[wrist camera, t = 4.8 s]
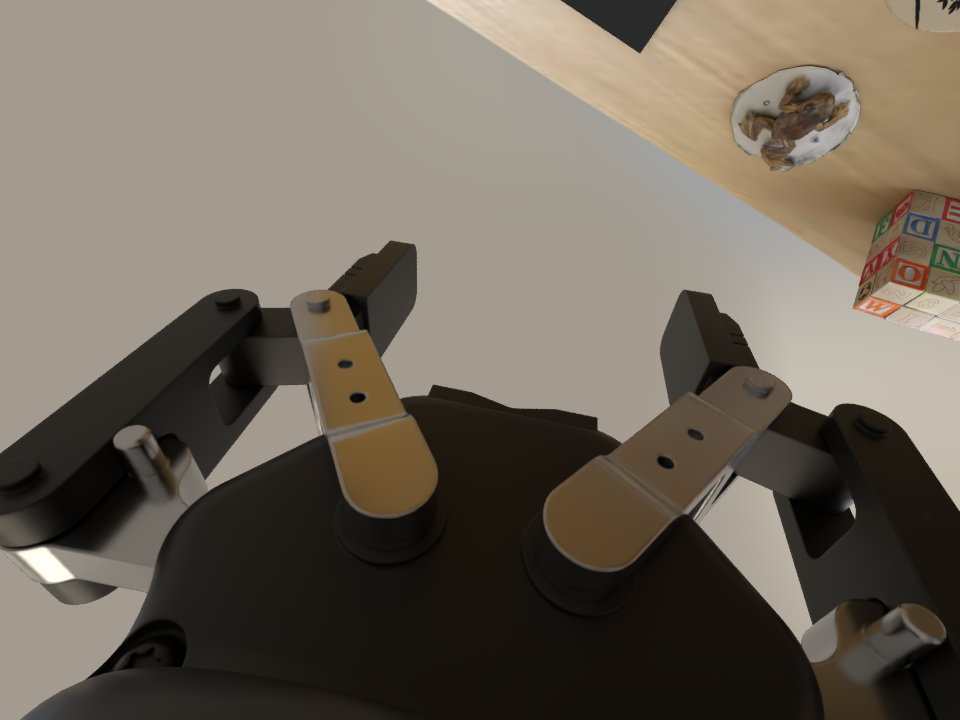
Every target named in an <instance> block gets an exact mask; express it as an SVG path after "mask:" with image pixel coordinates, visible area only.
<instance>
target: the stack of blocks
mask: <svg viewBox="0 0 960 720" xmlns="http://www.w3.org/2000/svg"><path fill="white" fill-rule="evenodd" d="M871 244H872V245H871V248H870V251H869V254H868V257H867V261H866V264H865V267H864V269H863V272H862V276H861V280H860V283H859V289H858V292H857V296H856V299H855V302H854V305H853V309H855V310H859V311H862V312H865V313H869V314H872V315H875V316H878V317H881V318H884V320H887V321H890V322H894V323H897V324H900V325H903V326H907V327H910V328H917V329H918V330H922V331H925V332H929V333H932V334H936V335H939V336H943V337H949V338H951V339H954V340H957V341H960V201H959V200H955V199H951V198H945V197H943V196H939V195H935V194H931V193H926V192H922V191H918V190H914V191H912V192H911V193H910V194H909V195H908V196H907V197H906V198H905V199H904V200H903V201H902V202H900V203H899V204H898V205H897V206H896V207H895V209H894V210H892V211H891V212H890V213H889V214H888V215H887V216H886V217H885V218H884V219H883V220H881V221H880V222H879V223H878V224H877V226H876V229H875V233H874V236H873V240H872V243H871Z"/></svg>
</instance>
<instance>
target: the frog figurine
mask: <svg viewBox="0 0 960 720" xmlns="http://www.w3.org/2000/svg"><path fill="white" fill-rule="evenodd" d="M853 84H854V83H853V82H852V81H851V80H849V79H848V78H846V77H845V74H844V73H843V72H840V73H839V74H836V73H835V72H833V71H831V70H830V69H826V68H820V67H815V66H805V67H795V68H790V69H786V70H779V71H778V72H776V73H774V74H772V75H771V76H769V77H768V78H766V79H764V80H761V81H759V82H756V83H755V84H754V85H752V86H750V87H749V88H747V89H746V90H744V91H742V92H740V93H739V96H738V97H737V99H736V100H735V102H734V104H733V111H732V114H731V124H732V127H733V133H734V137H735V139H736V142H737V143H738V146H739V147H740V148H741V149H742V150H743V151H744V152H745V153H747V154H748V155H751V154H752V153H753V154H755V155H756V156H759V157H762V159H763V160H764V161H765V162H766V163H767V164H768V165H769V166H770V171H776V170H781V171H788V170H789V169H792V168H793V167H795V166H800V165H803V164H806V163H811V162H815V161H816V159H818V158H819V157H821V156H824V155H826V154H827V153H830V152H832V151H833V150H835V149H837V148H838V147H839V146H840V145H841V144H843V143H844V142H845V141H846V139H847V137H849V136H850V135H851V133H852V132H853V130H854V128H855V126H856V124H857V120H858V119H859V114H860V113H859V111H860V104H859V103H858V101H857V98H856V95H855V94H858V95H859V93H858V92H857V90H856V89H855V88H853ZM853 89H855V90H856V91H855V92H854V91H853Z"/></svg>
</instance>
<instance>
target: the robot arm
mask: <svg viewBox="0 0 960 720" xmlns="http://www.w3.org/2000/svg"><path fill="white" fill-rule="evenodd" d="M416 253H417V252H416V247H415V245H414V244H408V243H402V242H396V241H389V242H388V243H387V244H386V246H385V247H384V248H383V249H382V250H381V251H380V252H379V253H378V254H375V253H372V254H369V255H367V256H365V257H362V258H360V259H359V260H358V261H357V262H356V263H355V264H354V265H353V266H352V267H351V268H350V269H348V270H347V271H346V272H345V275H342V276H341V277H340V278H339V279H338V280H337V281H336V282H335V283H334V284H333V285H332V286H331V287H330V288H329V289H328V290H314V291H308V292H305V293H302V294H300V295H298V296H297V297H295V298H294V299H293V300H292V301H291V303H290V308H261V307H260V304H259V300H258V296H257V295H256V294H255V293H253V292H251V291H248V290H244V289H228V290H222V291H218V292H214V293H212V294H209V295H207V296H206V297H204V298H202V299H201V300H200V301H198V302H197V303H196V304H195V305H193V306H192V307H191V308H190V309H188V310H187V311H185V312H184V313H183V314H182V315H180V316H179V317H178V318H177V319H175V320H174V321H172V322H171V323H170V324H169V325H167V326H166V327H165V328H163V329H162V330H161V331H160V332H158V333H157V334H155V335H154V336H153V337H152V338H150V339H149V340H148V341H146V342H145V343H144V344H142V345H141V346H140V347H139V348H137V349H136V350H135V351H133V352H132V353H131V354H130V355H128V356H127V357H126V358H124V359H123V360H122V361H120V362H119V363H118V364H116V365H115V366H114V367H113V368H111V369H110V370H109V371H107V372H106V373H105V374H103V375H102V376H101V377H99V378H98V379H97V380H96V381H94V382H93V383H92V384H90V385H89V386H88V387H87V388H85V389H84V390H83V391H81V392H80V393H79V394H78V395H76V396H75V397H74V398H72V399H71V400H70V401H68V402H67V403H66V404H64V405H63V406H62V407H60V408H59V409H58V410H57V411H55V412H54V413H53V414H51V415H50V416H49V417H48V418H46V419H45V420H43V421H42V422H41V423H40V424H38V425H37V426H36V427H34V428H33V429H32V430H31V431H29V432H28V433H27V434H25V435H24V436H23V437H21V438H20V439H19V440H17V441H16V442H15V443H13V444H12V445H11V446H10V447H8V448H7V449H6V450H4V451H3V452H2V453H0V551H1V552H2V553H3V554H4V555H5V556H6V557H7V558H8V559H9V560H11V561H12V562H13V563H14V564H15V565H16V566H17V567H18V568H19V569H20V570H21V571H23V572H24V573H25V574H26V575H27V576H28V577H29V578H31V580H33V581H35V582H38V583H40V584H41V585H42V586H43V587H45V588H46V589H47V590H48V591H49V592H50V593H51V594H52V595H53V596H54V597H55V598H56V599H58V600H59V601H60V602H62V603H65V604H69V605H79V604H85V603H89V602H92V601H95V600H98V599H100V598H102V597H104V596H106V595H108V594H109V593H111V592H112V591H114V590H115V589H117V588H118V587H121V588H127V589H131V590H136V591H141V592H146V593H147V596H146V599H145V601H144V603H143V606H142V608H141V610H140V613H139V615H138V617H137V619H136V621H135V623H134V624H133V626H132V628H131V630H130V632H129V634H128V635H127V637H126V638H125V640H124V641H123V642H122V644H121V645H120V646H119V647H118V649H117V650H116V651H115V652H114V653H113V654H112V655H111V657H110V658H109V659H108V660H107V661H106V662H105V663H104V664H103V665H102V666H101V667H100V668H98V669H97V670H96V671H95V672H94V673H93V674H92V675H90V676H89V677H88V678H87V679H86V680H84V681H82V682H80V683H77V684H75V685H73V686H71V687H69V688H67V689H65V690H62V691H61V692H59V693H57V694H56V695H54V696H52V697H50V698H49V699H47V700H45V701H44V702H42V703H41V704H40V705H38V706H37V707H36V708H34V709H33V710H32V711H30V712H29V713H28V714H27V715H25V716H24V717H23V718H22V719H21V720H960V511H959V510H958V508H957V507H956V505H955V504H954V502H953V501H952V499H951V498H950V496H949V495H948V494H947V492H946V491H945V489H944V488H943V486H942V485H941V483H940V482H939V480H938V479H937V478H936V476H935V474H934V473H933V471H932V470H931V469H930V467H929V466H928V464H927V463H926V462H925V460H924V458H923V457H922V455H921V454H920V452H919V451H918V450H917V448H916V447H915V445H914V444H913V442H912V441H911V439H910V438H909V436H908V435H907V433H906V432H905V431H904V430H903V429H902V428H901V427H900V426H899V425H898V424H897V423H896V422H894V421H893V420H891V419H890V418H888V417H887V416H885V415H883V414H881V413H879V412H877V411H875V410H873V409H870V408H867V407H865V406H861V405H856V404H848V403H847V404H840V405H838V406H836V407H835V408H834V410H833V411H832V412H831V414H830V415H829V416H826V415H823V414H820V413H818V412H815V411H812V410H809V409H807V408H804V407H801V406H799V405H796V404H794V403H792V402H790V401H791V400H792V393H791V390H790V389H789V388H788V386H787V385H786V384H785V383H784V382H783V381H781V380H780V379H779V378H777V377H776V376H774V375H772V374H770V373H768V372H766V371H763V370H761V369H759V367H758V365H757V362H756V361H755V358H754V356H753V354H752V352H751V350H750V348H749V347H748V344H747V342H746V339H745V338H743V336H744V335H743V333H742V331H741V329H740V327H739V325H738V324H737V323H736V322H735V321H734V320H733V319H732V318H730V317H729V316H728V315H727V314H724V313H720V312H719V310H718V308H717V305H716V303H715V301H714V298H713V296H712V295H711V294H707V293H701V292H695V291H689V290H683V291H682V292H681V293H680V295H679V297H678V300H677V302H676V304H675V307H674V310H673V312H672V314H671V317H670V319H669V322H668V324H667V327H666V329H665V332H664V335H663V337H662V341H661V346H660V357H661V362H662V367H663V373H664V377H665V383H666V388H667V393H668V399H669V403H670V407H668V408H667V409H666V410H665V411H663V412H662V413H661V414H659V415H658V416H657V417H656V418H654V419H653V420H652V421H651V422H649V423H648V424H647V425H646V426H644V427H643V428H642V429H641V430H639V431H638V432H637V433H635V434H634V435H633V436H632V437H630V438H629V439H628V440H627V441H625V442H624V443H623V444H622V443H621V442H619V441H617V440H616V439H614V438H613V437H611V436H609V435H607V434H605V433H603V432H600V431H598V430H597V418H596V417H591V416H585V415H581V414H576V413H571V412H566V411H561V410H556V409H515V408H510V407H507V406H504V405H502V404H499V403H497V402H495V401H492V400H489V399H487V398H485V397H482V396H480V395H477V394H475V393H472V392H467V391H462V390H458V389H453V388H448V387H442V386H438V385H433V386H432V388H431V390H430V392H429V395H428V396H412V397H406V398H402V399H400V398H399V396H398V394H397V392H396V390H395V388H394V385H393V383H392V381H391V379H390V377H389V375H388V373H387V371H386V369H385V366H384V364H383V362H382V360H381V357H382V355H383V354H384V352H385V351H386V349H387V348H388V346H389V344H390V343H391V341H392V340H393V338H394V337H395V335H396V334H397V332H398V331H399V329H400V327H401V326H402V324H403V323H404V321H405V320H406V318H407V317H408V315H409V314H410V312H411V311H412V309H413V307H414V304H415V301H416V294H417V254H416ZM218 364H219V366H220V369H221V371H222V372H221V373H220V374H219V375H218V376H217V378H216V379H215V380H214V381H213V382H212V383H211V384H210V385H209V380H210V376H211V373H212V371H213V369H214V368H215V367H216V366H217V365H218ZM304 384H306V385H307V390H308V393H309V397H310V402H311V405H312V409H313V413H314V417H315V421H316V425H317V429H318V433H319V436H318V437H316V438H314V439H312V440H310V441H308V442H306V443H304V444H302V445H300V446H298V447H296V448H294V449H292V450H290V451H287V452H285V453H283V454H281V455H279V456H277V457H275V458H273V459H271V460H269V461H267V462H265V463H263V464H261V465H259V466H257V467H255V468H253V469H251V470H249V471H247V472H245V473H243V474H240V475H238V476H236V477H234V478H232V479H230V480H228V481H226V482H224V483H222V484H220V485H219V486H217V487H215V488H213V489H211V490H210V491H208V492H207V484H206V481H205V480H206V478H207V477H208V476H209V475H210V473H211V472H212V471H213V469H214V468H215V467H216V466H217V464H218V463H219V462H220V460H221V459H222V458H223V456H224V455H225V454H226V453H227V451H228V450H229V449H230V448H231V446H232V445H233V444H234V442H235V441H236V440H237V439H238V437H239V436H240V435H241V434H242V432H243V431H244V429H245V428H246V427H247V426H248V425H249V423H250V422H251V421H252V419H253V418H254V417H255V415H256V414H257V413H258V412H259V410H260V409H261V408H262V407H263V405H264V404H265V403H266V401H267V400H268V399H269V398H270V396H271V395H272V394H273V393H274V391H275V390H276V389H277V387H278V385H304ZM739 476H741V477H744V478H746V479H748V480H750V481H753V482H755V483H757V484H759V485H761V486H764V487H766V488H768V489H771V490H773V496H774V499H775V502H776V505H777V509H778V512H779V515H780V518H781V522H782V525H783V529H784V532H785V535H786V539H787V542H788V545H789V548H790V552H791V555H792V558H793V561H794V565H795V568H796V571H797V575H798V578H799V581H800V584H801V588H802V591H803V595H804V598H805V601H806V604H807V608H808V611H809V614H810V618H811V621H812V624H813V626H812V627H810V628H809V629H808V630H806V632H805V633H804V634H803V637H802V640H801V644H800V643H799V641H798V640H797V638H796V637H795V635H794V634H793V633H792V631H791V630H790V629H789V627H788V626H787V625H786V623H785V622H784V621H783V620H782V619H781V617H780V616H779V615H778V614H777V613H776V612H775V611H774V610H773V608H772V607H771V606H770V605H769V604H768V603H767V602H766V600H765V599H764V598H763V597H762V596H761V595H760V594H759V593H758V592H757V590H756V589H755V588H754V587H753V586H752V585H751V584H750V583H749V581H748V580H747V579H746V578H745V577H744V576H743V575H742V573H741V572H740V571H739V570H738V569H737V568H736V567H735V566H734V565H733V563H732V562H731V561H730V560H729V559H728V558H727V557H726V555H725V554H724V553H723V552H722V551H721V550H720V549H719V548H718V546H717V545H716V544H715V543H714V542H713V541H712V540H711V539H710V538H709V536H708V535H707V534H706V533H705V532H704V531H703V530H702V528H701V527H700V526H699V525H698V524H699V523H700V521H701V520H702V519H703V518H704V516H705V515H706V514H707V513H708V512H709V511H710V509H711V508H712V507H713V506H714V505H715V504H716V503H717V501H718V500H719V499H720V498H721V497H722V495H724V493H725V492H726V491H727V490H728V489H729V488H730V486H731V485H732V484H733V483H734V482H735V481H736V479H737V478H738V477H739ZM853 503H854V504H855V507H856V518H855V519H854V517H853V514H852V512H851V510H850V508H849V507H850V506H851V505H852V504H853Z"/></svg>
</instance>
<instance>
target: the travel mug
mask: <svg viewBox="0 0 960 720" xmlns="http://www.w3.org/2000/svg"><path fill="white" fill-rule="evenodd" d="M884 1H885V3H886V5H887V7H888V9H889V10H890V12H891V13H892V14H893V15H894V16H895V17H896V18H897V19H898V20H899V21H901V22H902V23H904V24H906V25H908V26H910V27H913V28H916V29H919V30H924V31H929V32H957V31H960V0H884Z"/></svg>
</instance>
